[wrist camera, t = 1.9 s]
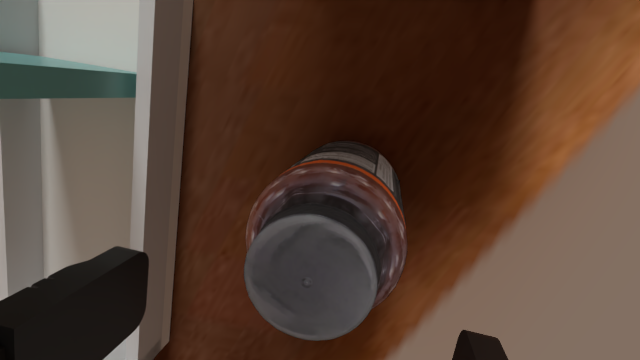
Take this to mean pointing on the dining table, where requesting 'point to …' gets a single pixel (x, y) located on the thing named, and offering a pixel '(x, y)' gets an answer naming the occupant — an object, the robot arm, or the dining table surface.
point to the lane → (96, 149)
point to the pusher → (61, 79)
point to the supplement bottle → (326, 241)
